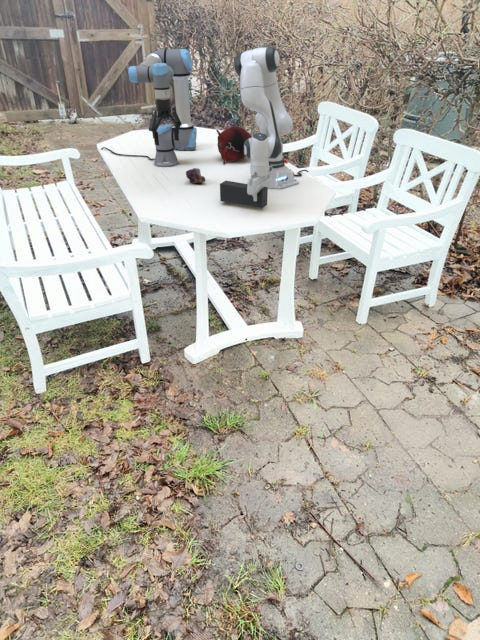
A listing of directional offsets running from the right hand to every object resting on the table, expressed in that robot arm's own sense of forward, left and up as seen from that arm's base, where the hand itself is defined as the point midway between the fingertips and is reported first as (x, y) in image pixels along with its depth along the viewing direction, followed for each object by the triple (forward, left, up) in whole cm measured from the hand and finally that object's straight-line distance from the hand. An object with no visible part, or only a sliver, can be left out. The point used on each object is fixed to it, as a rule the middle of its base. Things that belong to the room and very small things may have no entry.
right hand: (258, 198), depth 223 cm
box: (+5, -7, -4) cm, 9 cm away
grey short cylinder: (-16, -131, -5) cm, 133 cm away
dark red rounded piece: (-34, -87, -5) cm, 93 cm away
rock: (+10, -54, -5) cm, 56 cm away
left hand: (+26, -51, +20) cm, 61 cm away
